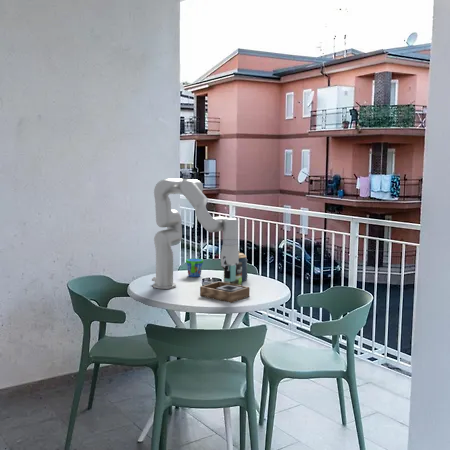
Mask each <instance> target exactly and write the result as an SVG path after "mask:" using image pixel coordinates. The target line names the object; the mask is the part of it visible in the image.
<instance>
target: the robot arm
mask: <svg viewBox="0 0 450 450" xmlns="http://www.w3.org/2000/svg"><path fill="white" fill-rule="evenodd" d="M203 190H204V186H203V183H202V182H201V181H200V180H198V179H196V178H195V179H194V178H192V179H191V178H179V177H177V178H176V177H175V178H164V179H161V180H159V181H158V182H157V183H156V184H155V185H154V188H153V194H154V195H153V196H154V204H155V205H154V207H155V208H154V209H155V222H156V225H157V227H159V228H166V229H162V230H159V231H157V232H156V233H155V235H154V238H153V241H154V248H155V276H152V277H153V278H151V281H152V282H153V284H152V287H153V288H155V289H159V290H169V289H173V288H174V289H175V288H176V286H177V284H176V283H175V282H174V252H173V249H172V246H173V247H175V246H176V245H179V244H180V243H181V241H182V240H183V238H182V237H183V229H182V227H183V225H182V224H183V223H182V216H181V214H180V212H179V211H178V210H176V209H174V208H173V209H172V203H171V202H172V201H171V198H170V196H169V195H178V194H179V195H183V196H184V197H185V199H186V200H187V201H188V202H189V204H190V205H191V206H192V207H193V208H194V211H195V212H194V213H195V217H196V219H197V221H198V222H199V224H200V225H201V226H202V227H203V228H204V230H206V231H207V232H208V233H216V232H217V233H218V232H222V238H223V239H222V246H221V251H220V264H221V265H220V267H222V269H223V279H224V278H227V279H230V271H229V269H230V265H232V264H235V265H236V266H237V264H238V263H239V261H238V260H239V253H240V250H239V220H238V218H237V217H236V218H235V217H225V216H214V217H213V216H212V215H211V214H210V211H208V209H207V206H206V205H207V204H208V201H209V199H208V197H207V196H206V195H205V194H204V193H203ZM226 263H227V264H226ZM227 266H228V268H227ZM224 271H225V272H224Z"/></svg>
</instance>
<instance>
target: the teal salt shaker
mask: <svg viewBox="0 0 450 450" xmlns="http://www.w3.org/2000/svg"><path fill="white" fill-rule="evenodd" d="M226 264H227V263H226ZM227 268H228V266H227ZM229 271H230V279H227V278H225V281H229V282H232V281H235V280H236V265H235V264H232V265H230V269H229Z"/></svg>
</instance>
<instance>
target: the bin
mask: <svg viewBox="0 0 450 450" xmlns="http://www.w3.org/2000/svg"><path fill="white" fill-rule="evenodd" d="M225 285H232V286H238V287H243V289H240V290H237V291H234V292H227V291H222V290H217V289H216V288H218V287H221V286H225ZM199 288H200V289H199V296H200V297H203V298H207V299H212V300H215V301H216V300H217V301H221V302H226V303H230V304H232V303H235V302H237V301H240V300H243V299H247V298H249V297H250V286H246V285H242V286H241V285H236V284H230V283H225V282H224V281H216V282H212V283H211V282H210V283H208V284H205V285H201V286H200V287H199Z"/></svg>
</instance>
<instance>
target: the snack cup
mask: <svg viewBox="0 0 450 450" xmlns="http://www.w3.org/2000/svg"><path fill="white" fill-rule="evenodd" d="M185 263H186V268H187V275H188V277H191V278H198V277H201V275H202V270H203V264H204V259H203V258H199V257H198V258H197V257H196V258H195V257H194V258H192V257H191V258H186V259H185Z"/></svg>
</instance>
